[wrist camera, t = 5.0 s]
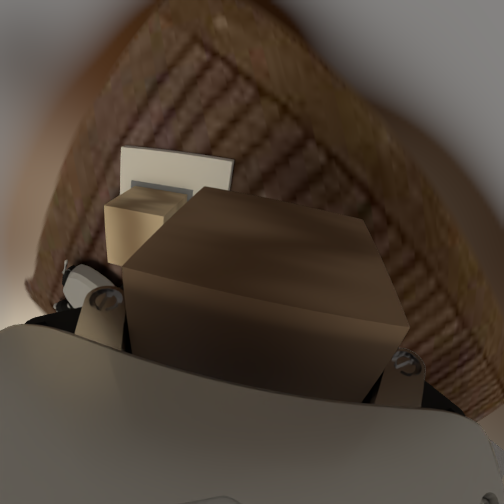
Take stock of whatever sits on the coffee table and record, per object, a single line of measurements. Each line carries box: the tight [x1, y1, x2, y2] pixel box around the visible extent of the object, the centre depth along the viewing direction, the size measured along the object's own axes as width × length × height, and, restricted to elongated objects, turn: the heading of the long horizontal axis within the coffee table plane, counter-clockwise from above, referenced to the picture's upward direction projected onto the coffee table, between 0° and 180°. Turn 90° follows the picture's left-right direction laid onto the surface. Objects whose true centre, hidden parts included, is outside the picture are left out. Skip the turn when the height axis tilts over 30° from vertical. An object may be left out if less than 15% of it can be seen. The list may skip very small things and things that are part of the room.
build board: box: [120, 145, 234, 202], centre depth 32 cm, size 12×14×1 cm
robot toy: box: [53, 260, 116, 312], centre depth 39 cm, size 12×4×15 cm
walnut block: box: [122, 186, 410, 403], centre depth 10 cm, size 6×6×6 cm
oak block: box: [104, 186, 187, 266], centre depth 28 cm, size 6×6×6 cm
